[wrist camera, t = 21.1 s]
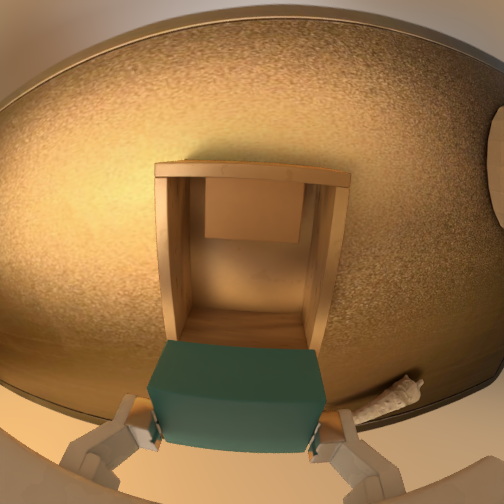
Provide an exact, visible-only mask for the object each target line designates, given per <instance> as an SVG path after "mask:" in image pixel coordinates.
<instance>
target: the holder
mask: <svg viewBox="0 0 504 504" xmlns="http://www.w3.org/2000/svg"><path fill="white" fill-rule="evenodd" d="M206 177H212V178H240V179H258V180H274V181H287V182H299V183H305V188H304V199H303V209H302V219H301V229H300V238H299V243H298V244H296V243H281V242H265V241H249V240H233V239H216V238H205V188H206ZM350 180H351V174H350V173H346V172H342V171H338V170H333V169H329V168H322V167H313V166H303V165H293V164H281V163H267V162H250V161H225V160H178V161H168V162H159V163H155V223H156V242H157V257H158V270H159V280H160V290H161V299H162V308H163V316H164V323H165V330H166V337H167V340H176V341H184V342H193V343H202V344H212V345H223V346H235V347H250V348H271V349H314V350H315V352H316V356H317V359H318V356H319V352H320V348H321V344H322V340H323V336H324V332H325V328H326V324H327V319H328V315H329V311H330V306H331V301H332V297H333V292H334V287H335V282H336V276H337V271H338V266H339V260H340V254H341V248H342V242H343V236H344V229H345V222H346V215H347V207H348V199H349V190H350V189H349V187H350Z"/></svg>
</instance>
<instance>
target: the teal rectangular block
mask: <svg viewBox="0 0 504 504" xmlns="http://www.w3.org/2000/svg"><path fill="white" fill-rule="evenodd" d="M147 390H148V393H149V396H150V399H151V402H152V405H153V408H154V411H155V414H156V417H157V419H158V422H159V425H160V427H161V430H162V433H163V435H164V438H165V440H166V442H169V443H174V444H179V445H186V446H191V447H199V448H205V449H214V450H223V451H235V452H252V453H300V452H304V451H305V450H306V447H307V445H308V443H309V441H310V439H311V437H312V434H313V432H314V430H315V428H316V425H317V423H318V421H319V418H320V416H321V414H322V411H323V409H324V406H325V404H326V401H327V400H326V395H325V391H324V386H323V382H322V378H321V373H320V369H319V365H318V360H317V356H316V352H315V350H314V349H271V348H250V347H235V346H223V345H212V344H202V343H193V342H184V341H176V340H167V342H166V345H165V347H164V349H163V351H162V354H161V356H160V358H159V361H158V363H157V365H156V367H155V370H154V372H153V374H152V377H151V379H150V381H149V384H148V386H147Z"/></svg>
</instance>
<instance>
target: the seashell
mask: <svg viewBox="0 0 504 504" xmlns="http://www.w3.org/2000/svg"><path fill="white" fill-rule="evenodd" d="M423 383H424V382H423V380H419V381H418V382H417V383H415V382H414V381H413V380H411V379H410V378H409V377H408V375H405V376H404V377H403V378H402V379H400V380H399V381H397V382H395V383H393V385H392V387H390V388H389V389H386V390H384V392H383V393H382V394H380V395H379V396H378V397H376V398H375V399H373V400H371V401H369V403H367V404H366V405H364V406H362V407H361V408H358V409H357V410H356V411H354V412H351V414H352V417H353V421H354V424H355V425H356V424H360V423H362V422H366V421H368V420H370V419H374V418H376V417H378V416H381V415H383V414H386V413H389V412H392V411H394V410H398V409H400V408H401V407H405V406H407V405H410V404H413V403H415V402H417V401H418V400H419V398H420V391H419V389H420V386H421V385H423Z"/></svg>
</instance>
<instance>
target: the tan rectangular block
mask: <svg viewBox="0 0 504 504" xmlns="http://www.w3.org/2000/svg"><path fill="white" fill-rule="evenodd" d="M304 188H305V183H299V182H287V181H274V180H258V179H240V178H212V177H206V188H205V238H216V239H233V240H249V241H265V242H281V243H296V244H298V243H299V238H300V229H301V219H302V209H303V199H304Z"/></svg>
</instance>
